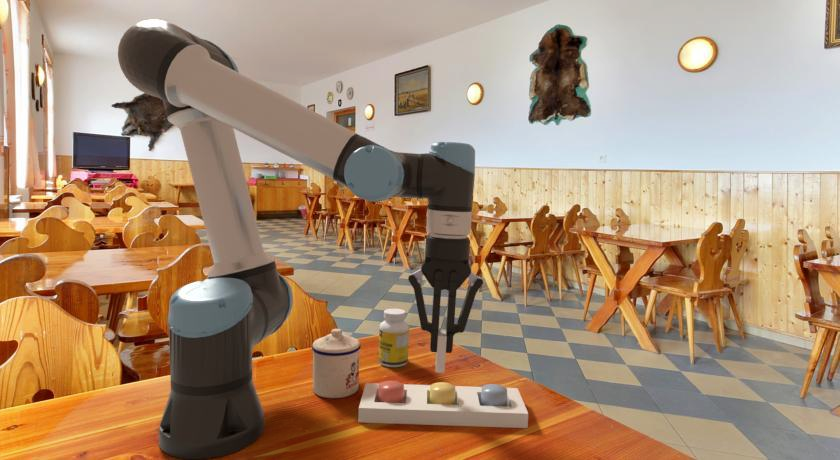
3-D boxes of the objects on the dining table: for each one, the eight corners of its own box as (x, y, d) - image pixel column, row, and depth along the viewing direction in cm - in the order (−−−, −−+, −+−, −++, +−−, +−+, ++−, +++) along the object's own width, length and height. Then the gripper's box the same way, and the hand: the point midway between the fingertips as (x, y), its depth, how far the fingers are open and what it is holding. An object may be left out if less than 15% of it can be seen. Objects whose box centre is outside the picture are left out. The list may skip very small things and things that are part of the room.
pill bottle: (375, 358, 112) (376, 308, 110) (403, 356, 113) (404, 306, 112) (382, 369, 105) (383, 316, 104) (411, 367, 107) (413, 314, 106)
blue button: (482, 414, 85) (483, 394, 85) (479, 402, 89) (480, 383, 89) (508, 415, 85) (509, 395, 85) (504, 403, 89) (505, 384, 89)
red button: (377, 410, 85) (377, 390, 85) (379, 399, 90) (379, 380, 89) (402, 411, 85) (403, 391, 85) (403, 400, 90) (404, 380, 89)
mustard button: (429, 412, 85) (430, 392, 85) (429, 401, 90) (430, 381, 89) (455, 413, 85) (456, 393, 85) (453, 401, 90) (454, 382, 89)
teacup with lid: (355, 400, 91) (356, 338, 89) (306, 398, 91) (306, 336, 90) (365, 374, 102) (366, 319, 101) (321, 373, 103) (321, 317, 101)
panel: (358, 422, 83) (358, 407, 82) (365, 395, 93) (365, 382, 92) (527, 428, 82) (528, 413, 82) (516, 401, 92) (517, 388, 92)
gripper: (408, 235, 80) (401, 376, 83) (489, 240, 80) (479, 380, 83) (410, 230, 88) (403, 359, 91) (484, 234, 88) (475, 363, 90)
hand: (439, 369), depth 87 cm, fingers closed
